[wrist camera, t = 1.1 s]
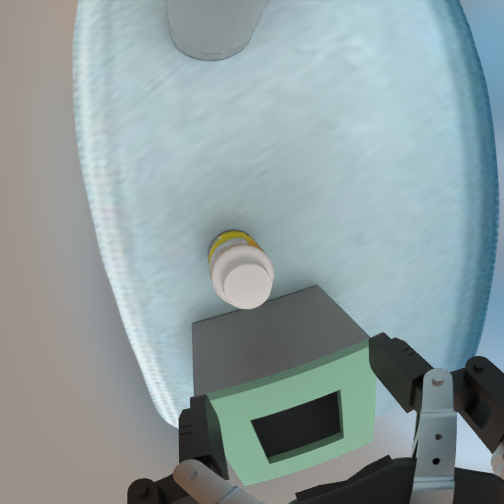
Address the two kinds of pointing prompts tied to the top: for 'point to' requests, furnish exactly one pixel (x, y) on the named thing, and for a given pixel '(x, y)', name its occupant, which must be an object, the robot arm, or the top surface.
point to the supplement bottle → (240, 270)
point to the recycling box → (286, 383)
